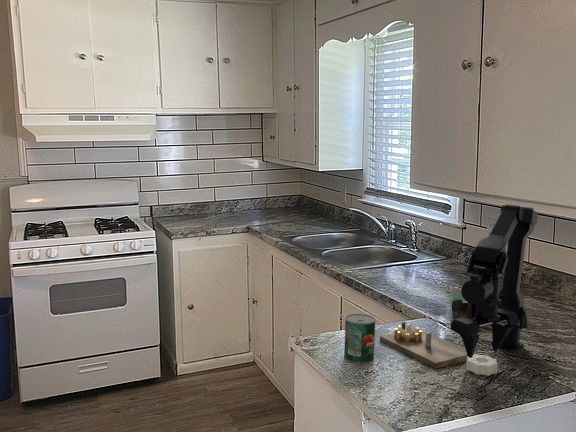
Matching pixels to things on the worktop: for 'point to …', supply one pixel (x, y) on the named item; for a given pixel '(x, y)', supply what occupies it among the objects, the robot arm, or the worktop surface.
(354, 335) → the canned tomato
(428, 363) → the gear board
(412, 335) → the gear
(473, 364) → the loose gear
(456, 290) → the food container
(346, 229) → the worktop surface
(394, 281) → the worktop surface
